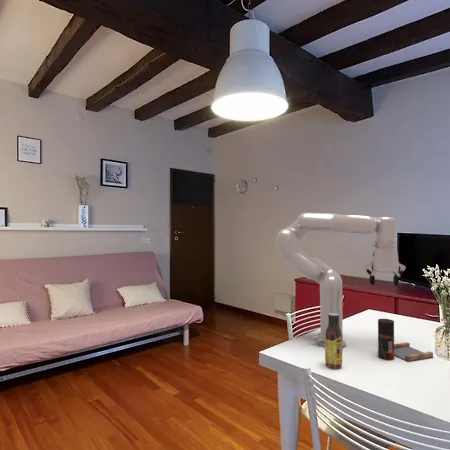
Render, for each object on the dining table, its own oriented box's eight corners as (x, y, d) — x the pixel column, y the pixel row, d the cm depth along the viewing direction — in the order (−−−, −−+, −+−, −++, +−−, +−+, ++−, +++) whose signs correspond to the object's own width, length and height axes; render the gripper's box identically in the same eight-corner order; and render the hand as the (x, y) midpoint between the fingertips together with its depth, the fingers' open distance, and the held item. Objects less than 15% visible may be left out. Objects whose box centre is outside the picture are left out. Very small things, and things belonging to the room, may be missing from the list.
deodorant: (387, 361, 136) (387, 323, 136) (374, 356, 141) (374, 319, 141) (397, 358, 139) (397, 321, 139) (384, 353, 144) (384, 317, 144)
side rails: (407, 362, 135) (407, 357, 135) (383, 350, 148) (382, 345, 148) (433, 357, 139) (433, 352, 139) (406, 346, 152) (406, 342, 152)
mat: (407, 362, 135) (407, 360, 135) (383, 350, 148) (383, 349, 148) (433, 357, 139) (433, 356, 139) (406, 346, 152) (406, 345, 152)
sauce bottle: (340, 371, 128) (339, 317, 128) (323, 367, 131) (322, 315, 131) (344, 364, 133) (343, 313, 133) (327, 361, 137) (327, 311, 136)
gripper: (367, 245, 146) (366, 286, 146) (409, 246, 145) (408, 287, 145) (361, 244, 154) (360, 282, 154) (401, 245, 152) (401, 284, 152)
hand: (384, 285), depth 149 cm, fingers open, 9 cm apart
